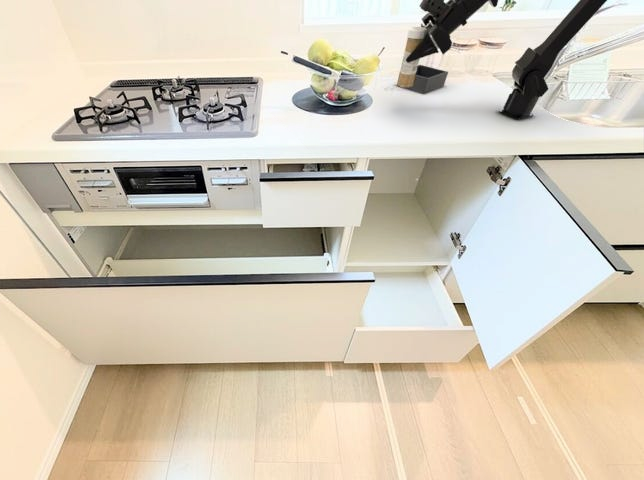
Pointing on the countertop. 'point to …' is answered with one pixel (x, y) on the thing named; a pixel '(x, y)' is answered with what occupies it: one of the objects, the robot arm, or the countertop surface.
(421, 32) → the sprinkles bottle
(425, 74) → the dark grey square tray
